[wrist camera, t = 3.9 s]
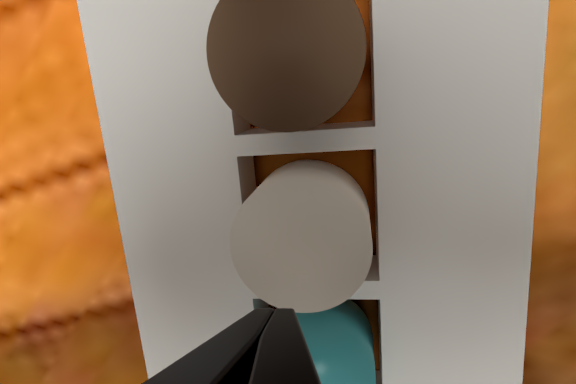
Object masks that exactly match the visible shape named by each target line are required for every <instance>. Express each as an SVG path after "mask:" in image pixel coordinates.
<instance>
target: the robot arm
mask: <svg viewBox="0 0 576 384" xmlns="http://www.w3.org/2000/svg"><path fill="white" fill-rule="evenodd" d="M142 384H322V383H321V381H320V378H319V375H318V373H317V370H316V367H315V364H314V362H313V359H312V356H311V354H310V351H309V348H308V345H307V343H306V340H305V337H304V335H303V332H302V329H301V326H300V324H299V321H298V318H297V316H296V313H295V310H294V309H292V308H277V309H275V310H274V309H273V308H256V309H254V310H253V311H251V312H250V313H248V314H247V315H245V316H244V317H242V318H240V319H239V320H237V321H236V322H234V323H233V324H231V325H230V326H228V327H227V328H225V329H224V330H222V331H221V332H219V333H218V334H216V335H215V336H213V337H212V338H210V339H209V340H207V341H206V342H204V343H203V344H201V345H200V346H198V347H197V348H195V349H193V350H192V351H190V352H189V353H187V354H186V355H184V356H183V357H181V358H180V359H178V360H177V361H175V362H174V363H172V364H171V365H169V366H168V367H166V368H165V369H163V370H162V371H160V372H159V373H157V374H156V375H154V376H152V377H151V378H149V379H148V380H146V381H145V382H143V383H142Z"/></svg>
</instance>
